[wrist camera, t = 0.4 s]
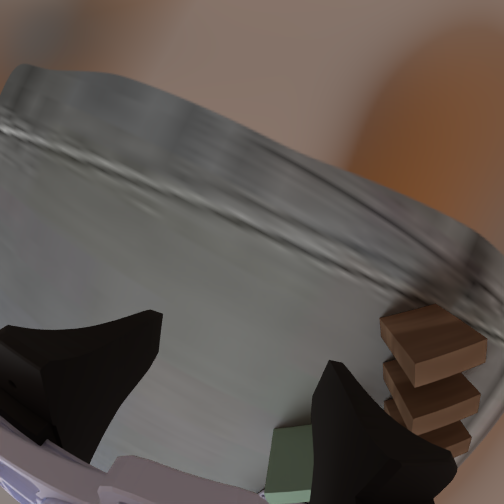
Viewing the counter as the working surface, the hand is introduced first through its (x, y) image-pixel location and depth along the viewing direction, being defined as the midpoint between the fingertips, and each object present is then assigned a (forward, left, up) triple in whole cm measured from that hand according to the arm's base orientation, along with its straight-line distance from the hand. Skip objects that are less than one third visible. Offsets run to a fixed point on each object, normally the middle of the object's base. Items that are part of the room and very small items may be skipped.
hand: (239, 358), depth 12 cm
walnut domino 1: (+5, -11, -11) cm, 16 cm away
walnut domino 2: (+2, -14, -11) cm, 17 cm away
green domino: (-9, -10, -11) cm, 17 cm away
